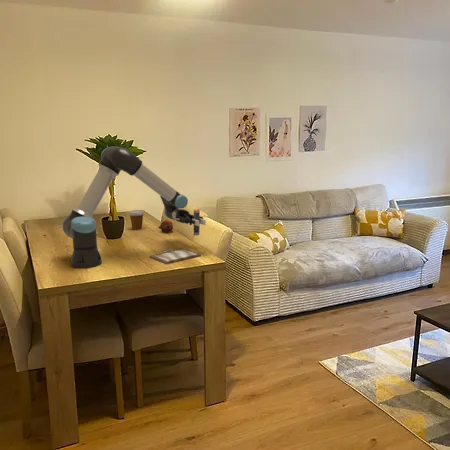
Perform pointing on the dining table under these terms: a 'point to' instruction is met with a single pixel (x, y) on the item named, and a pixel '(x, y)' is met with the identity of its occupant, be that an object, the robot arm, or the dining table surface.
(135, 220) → the disposable coffee cup
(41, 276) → the dining table surface
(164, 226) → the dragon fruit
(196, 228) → the marker
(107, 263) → the dining table surface
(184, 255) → the clipboard
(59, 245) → the dining table surface
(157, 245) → the dining table surface
